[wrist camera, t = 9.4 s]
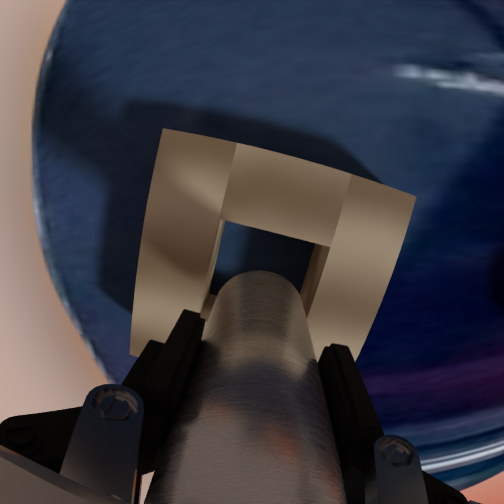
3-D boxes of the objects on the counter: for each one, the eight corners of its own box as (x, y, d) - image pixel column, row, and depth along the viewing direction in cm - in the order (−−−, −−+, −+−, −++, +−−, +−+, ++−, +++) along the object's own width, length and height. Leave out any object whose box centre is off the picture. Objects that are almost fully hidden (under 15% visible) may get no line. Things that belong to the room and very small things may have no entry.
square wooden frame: (182, 135, 19) (163, 128, 15) (390, 190, 19) (416, 196, 15) (148, 326, 23) (129, 354, 19) (326, 368, 23) (335, 401, 19)
